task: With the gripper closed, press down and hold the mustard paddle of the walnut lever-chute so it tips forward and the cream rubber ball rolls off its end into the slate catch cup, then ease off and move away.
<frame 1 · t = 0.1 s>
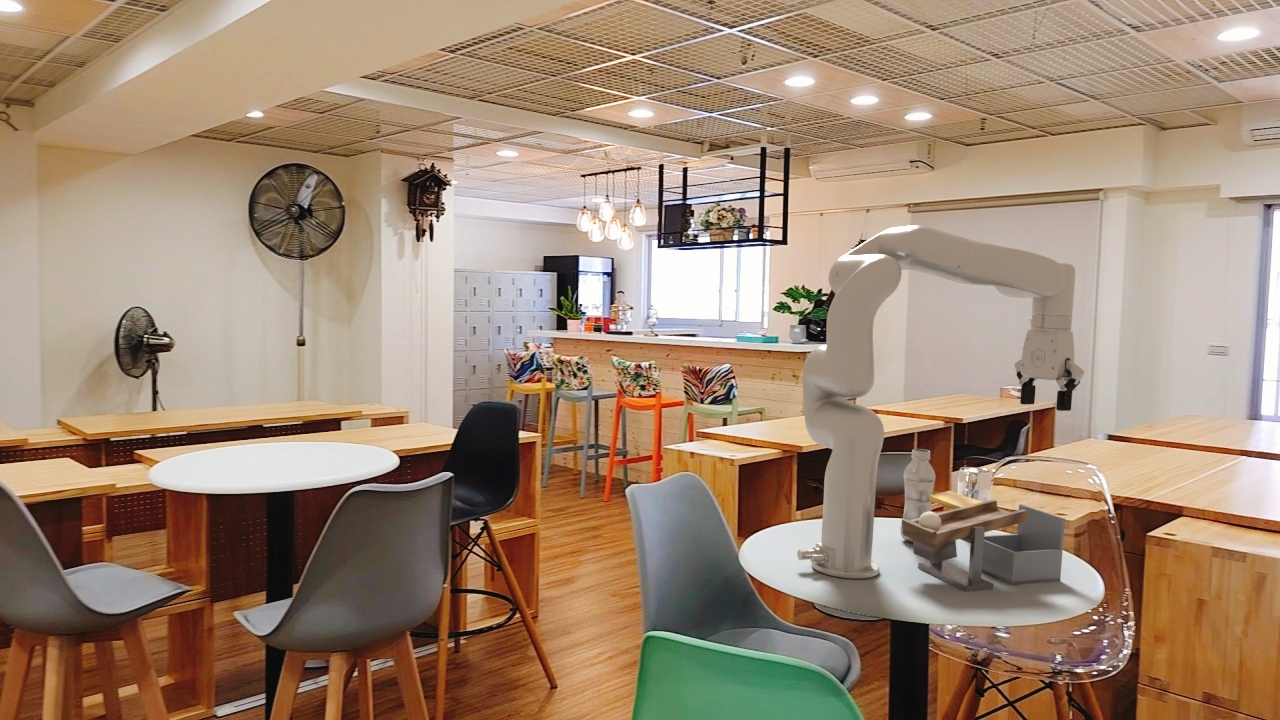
hand: (1044, 407, 180), 31 cm above the table, tool pointing down, fingers open, 9 cm apart
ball: (930, 522, 162), point 11 cm above the table, tilted 10°, touching lever chute
beer glass: (970, 536, 196), on the table
lever chute: (947, 523, 169), point 9 cm above the table, hinge at -10.0°, touching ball
pivot stand: (954, 578, 165), on the table
plastic bottle: (915, 542, 189), on the table
catch cup: (1014, 573, 169), on the table
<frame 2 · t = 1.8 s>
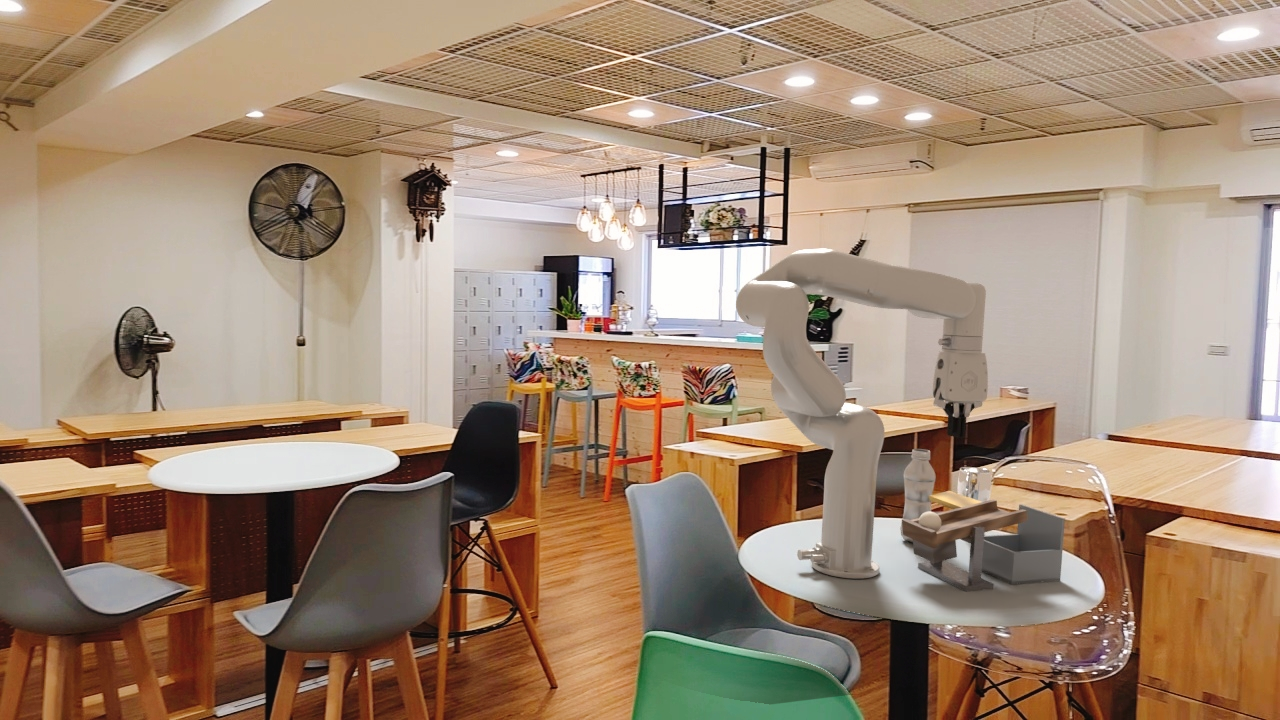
hand: (955, 436, 176), 25 cm above the table, tool pointing down, fingers closed
nothing on the table moved.
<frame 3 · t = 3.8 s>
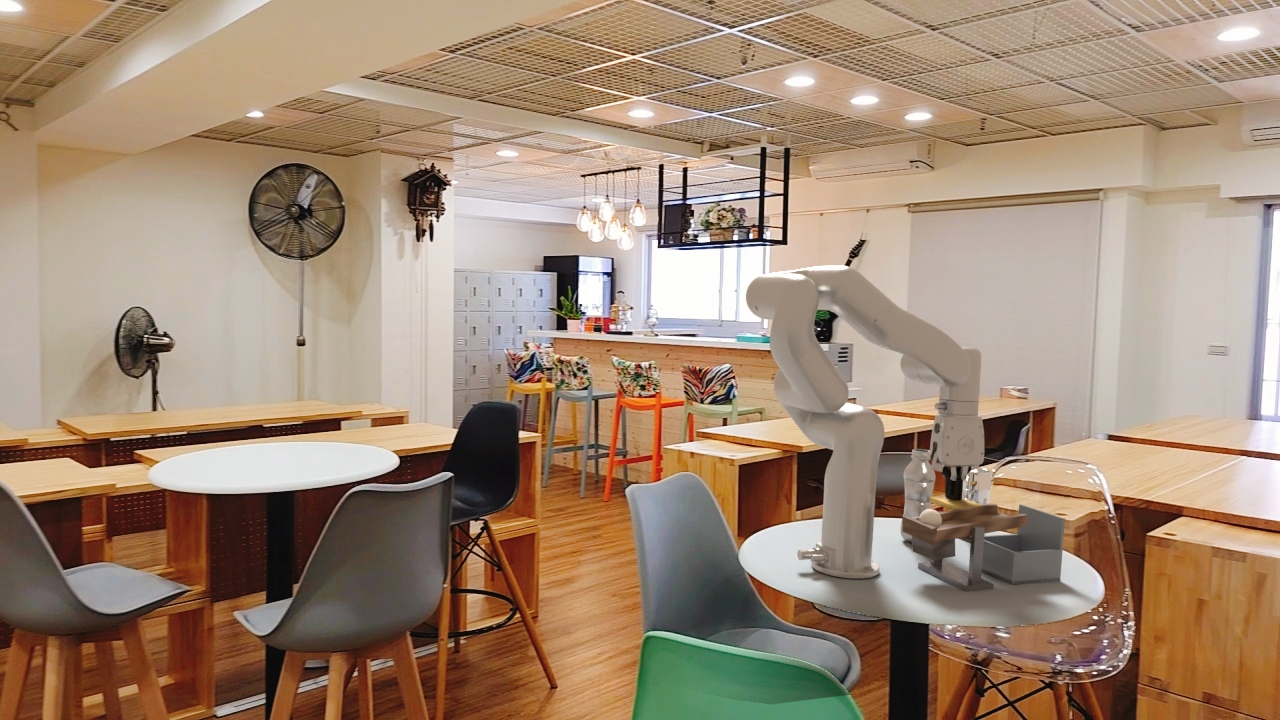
hand: (953, 498, 177), 12 cm above the table, tool pointing down, fingers closed
lever chute: (947, 524, 169), point 9 cm above the table, hinge at -5.9°, touching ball, gripper
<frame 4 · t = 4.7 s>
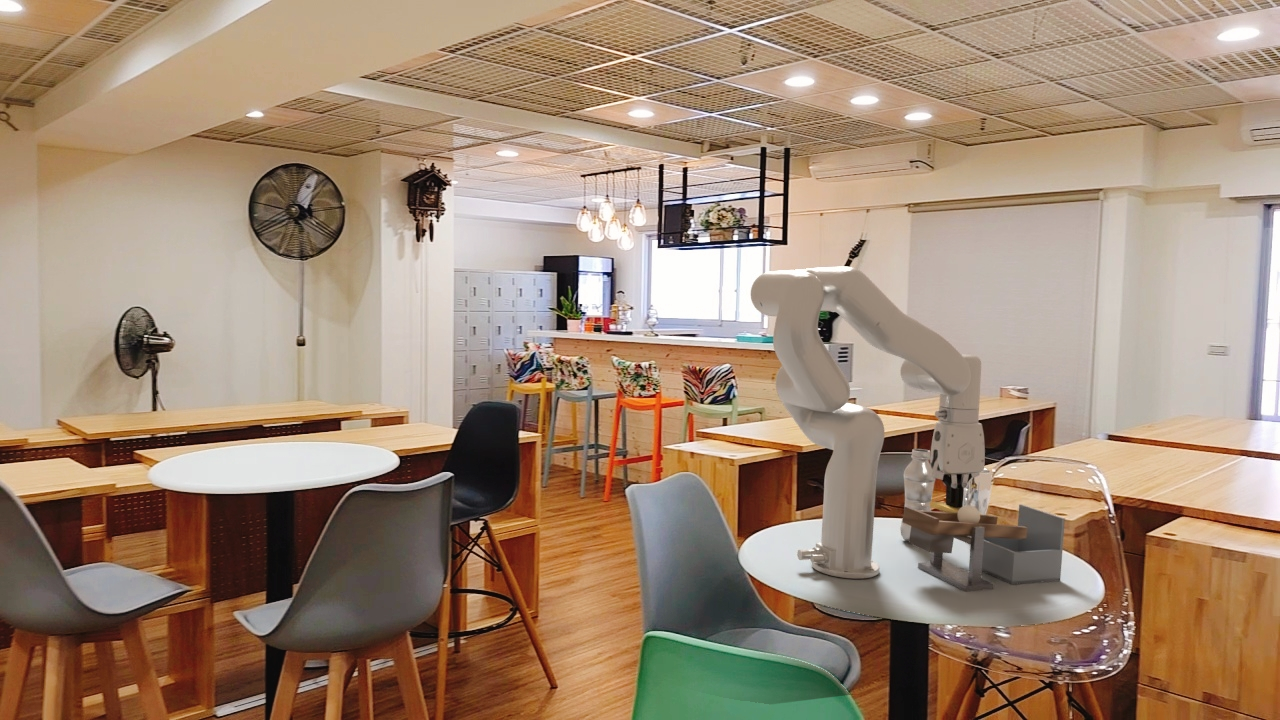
hand: (954, 505, 177), 11 cm above the table, tool pointing down, fingers closed
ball: (968, 516, 165), point 12 cm above the table, tilted 122°, touching lever chute
lever chute: (946, 525, 169), point 9 cm above the table, hinge at 5.8°, touching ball, gripper
everything else where it was.
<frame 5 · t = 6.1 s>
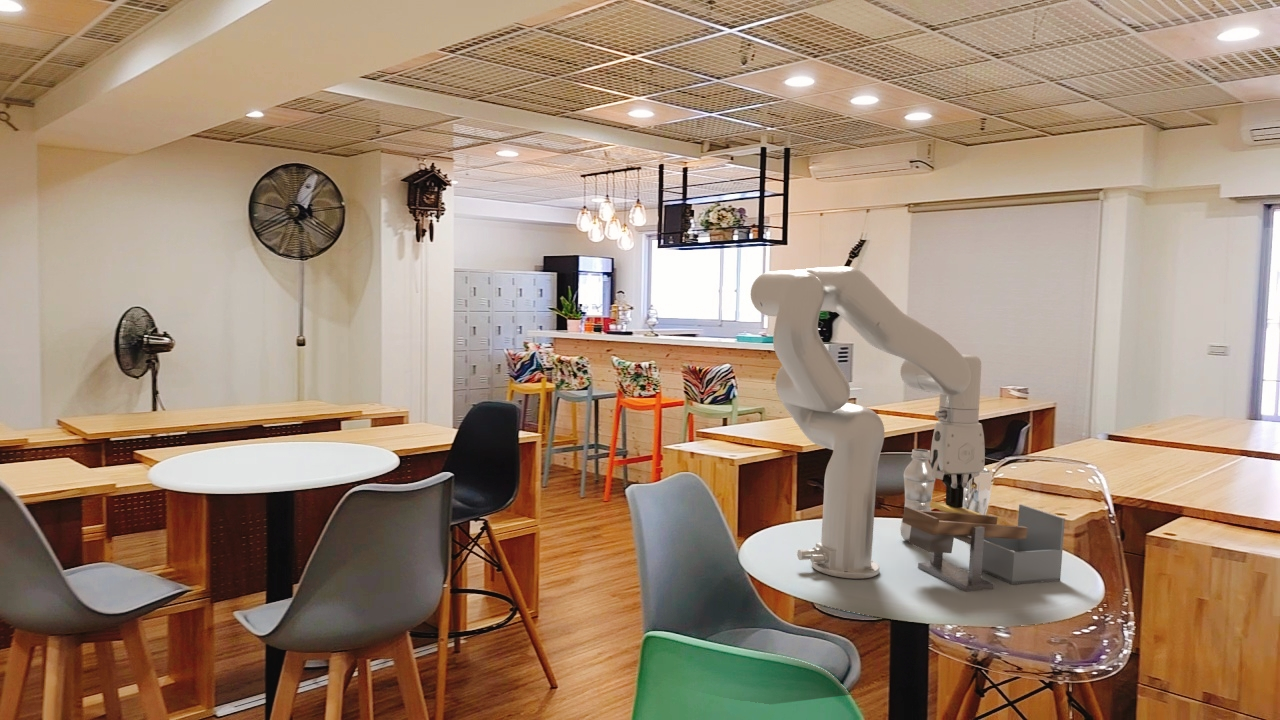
hand: (954, 505, 177), 11 cm above the table, tool pointing down, fingers closed
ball: (1009, 560, 169), point 3 cm above the table, tilted 113°, touching catch cup
lever chute: (946, 525, 169), point 9 cm above the table, hinge at 5.9°, touching gripper
everything else where it was.
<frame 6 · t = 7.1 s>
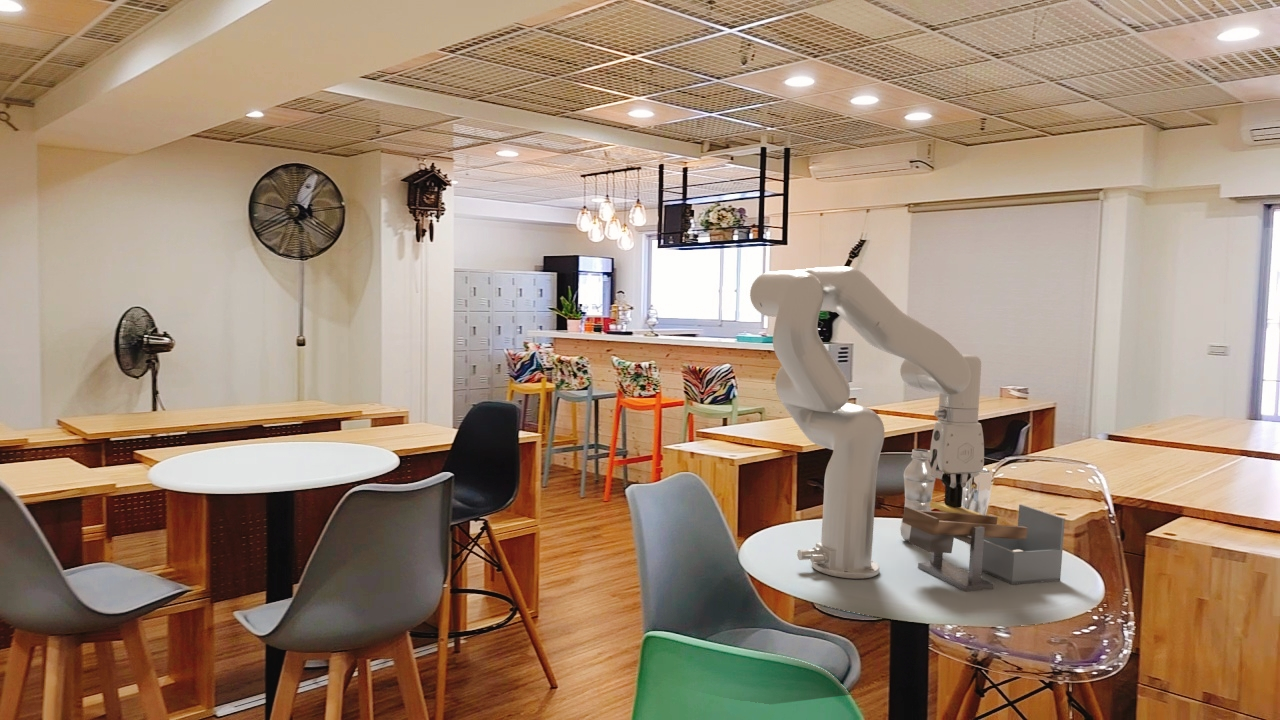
hand: (952, 505, 177), 11 cm above the table, tool pointing down, fingers closed
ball: (1018, 560, 169), point 3 cm above the table, tilted 172°, touching catch cup
lever chute: (946, 525, 169), point 9 cm above the table, hinge at 5.9°
everything else where it was.
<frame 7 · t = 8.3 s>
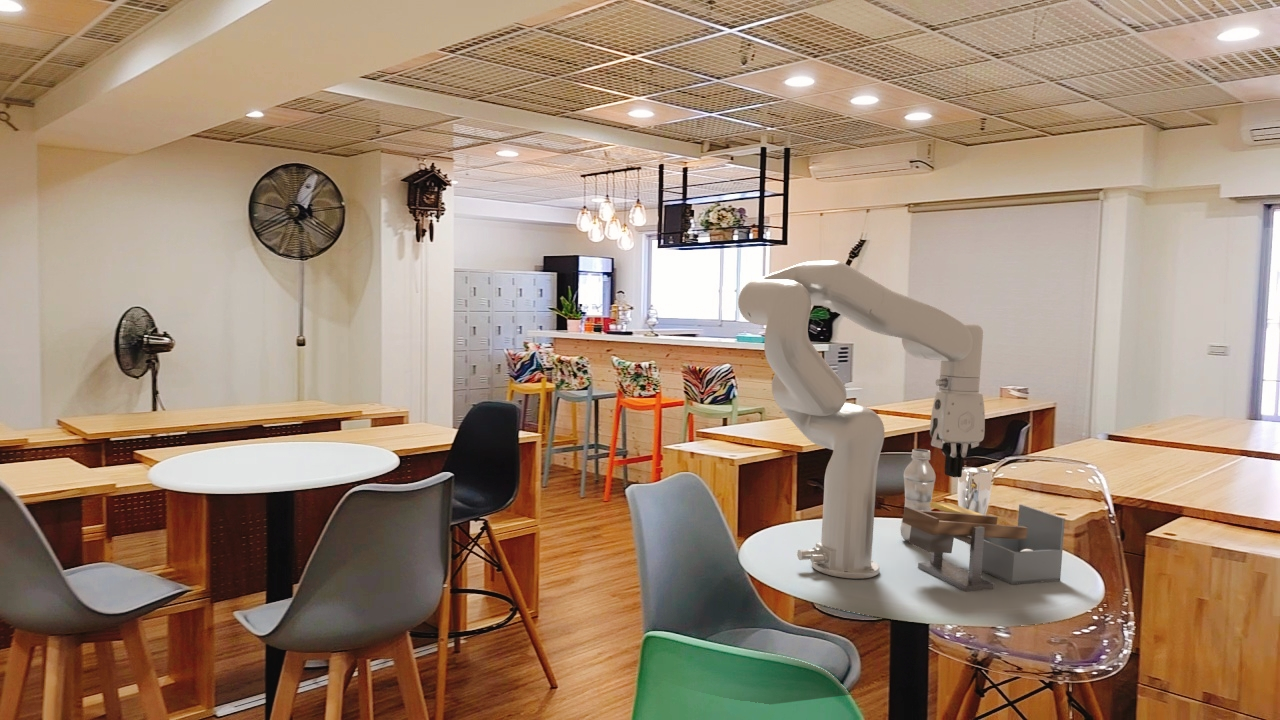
hand: (952, 475, 176), 17 cm above the table, tool pointing down, fingers closed
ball: (1028, 559, 170), point 3 cm above the table, tilted 121°, touching catch cup
everything else where it was.
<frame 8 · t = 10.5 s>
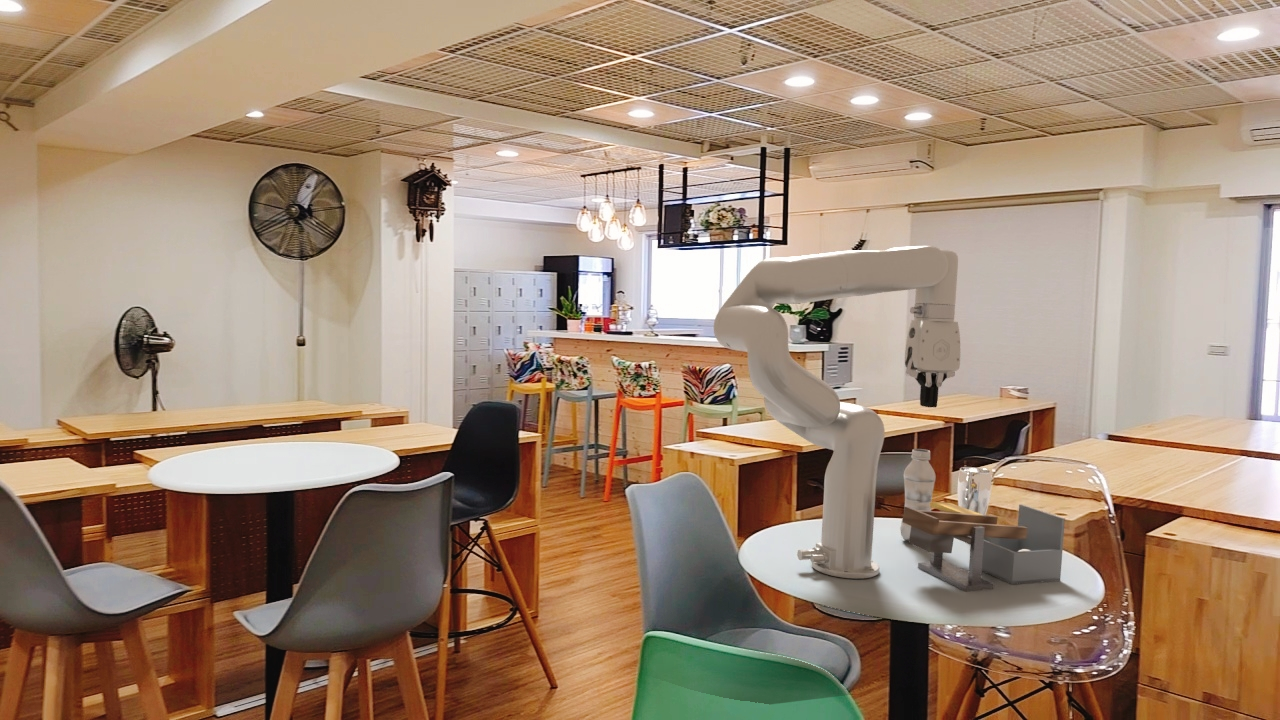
hand: (928, 406, 173), 31 cm above the table, tool pointing down, fingers closed
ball: (1025, 559, 170), point 3 cm above the table, tilted 140°, touching catch cup
everything else where it was.
at the end: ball inside the target area on the catch cup (2.3 cm from its centre), point 2.6 cm above the catch cup's base; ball moved 23.8 cm from its start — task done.
